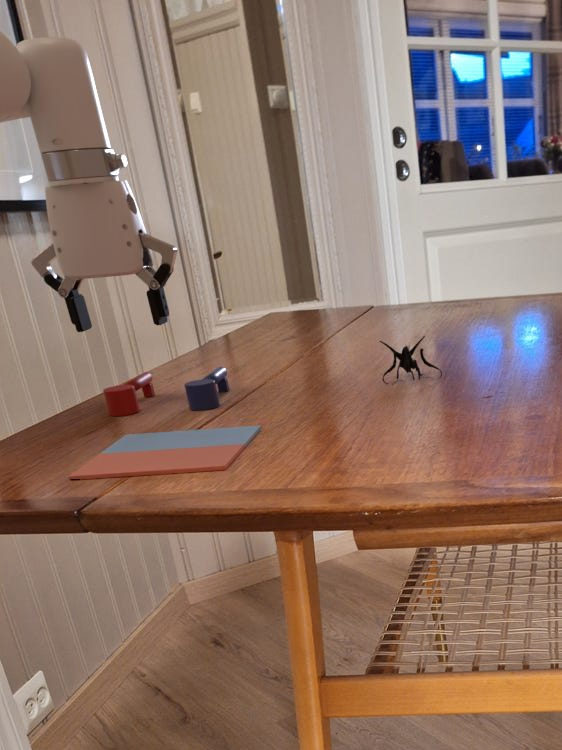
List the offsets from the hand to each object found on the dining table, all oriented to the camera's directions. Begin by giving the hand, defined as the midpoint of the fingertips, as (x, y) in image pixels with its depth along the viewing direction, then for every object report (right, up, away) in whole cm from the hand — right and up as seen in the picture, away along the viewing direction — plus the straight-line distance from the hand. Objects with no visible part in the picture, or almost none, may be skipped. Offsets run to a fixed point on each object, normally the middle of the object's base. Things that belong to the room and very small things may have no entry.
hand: (123, 326), depth 107 cm
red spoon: (0, -9, +3) cm, 9 cm away
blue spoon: (+10, -8, +3) cm, 14 cm away
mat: (+13, -20, -19) cm, 30 cm away
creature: (+35, -5, +6) cm, 36 cm away
